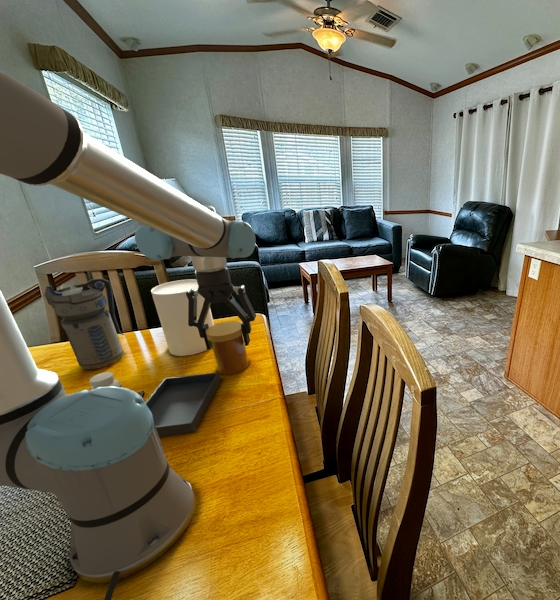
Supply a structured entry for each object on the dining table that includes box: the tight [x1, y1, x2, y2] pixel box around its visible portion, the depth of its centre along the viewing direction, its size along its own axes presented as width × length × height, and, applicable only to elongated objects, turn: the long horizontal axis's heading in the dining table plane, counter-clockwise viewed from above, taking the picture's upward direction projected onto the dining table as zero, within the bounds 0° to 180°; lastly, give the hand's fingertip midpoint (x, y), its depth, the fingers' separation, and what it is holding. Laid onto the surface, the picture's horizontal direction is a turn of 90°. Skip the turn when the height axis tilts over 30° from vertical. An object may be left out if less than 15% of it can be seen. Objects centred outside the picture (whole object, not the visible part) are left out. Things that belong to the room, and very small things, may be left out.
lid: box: [206, 320, 243, 342], centre depth 90 cm, size 9×9×2 cm
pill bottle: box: [89, 371, 123, 391], centre depth 74 cm, size 5×5×10 cm
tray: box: [145, 371, 222, 438], centre depth 77 cm, size 19×13×2 cm
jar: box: [211, 334, 250, 375], centre depth 92 cm, size 8×8×12 cm
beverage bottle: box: [43, 277, 125, 370], centre depth 92 cm, size 10×13×25 cm
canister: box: [150, 278, 215, 357], centre depth 102 cm, size 14×14×20 cm
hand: (229, 345), depth 92 cm, fingers closed on lid, 9 cm apart
